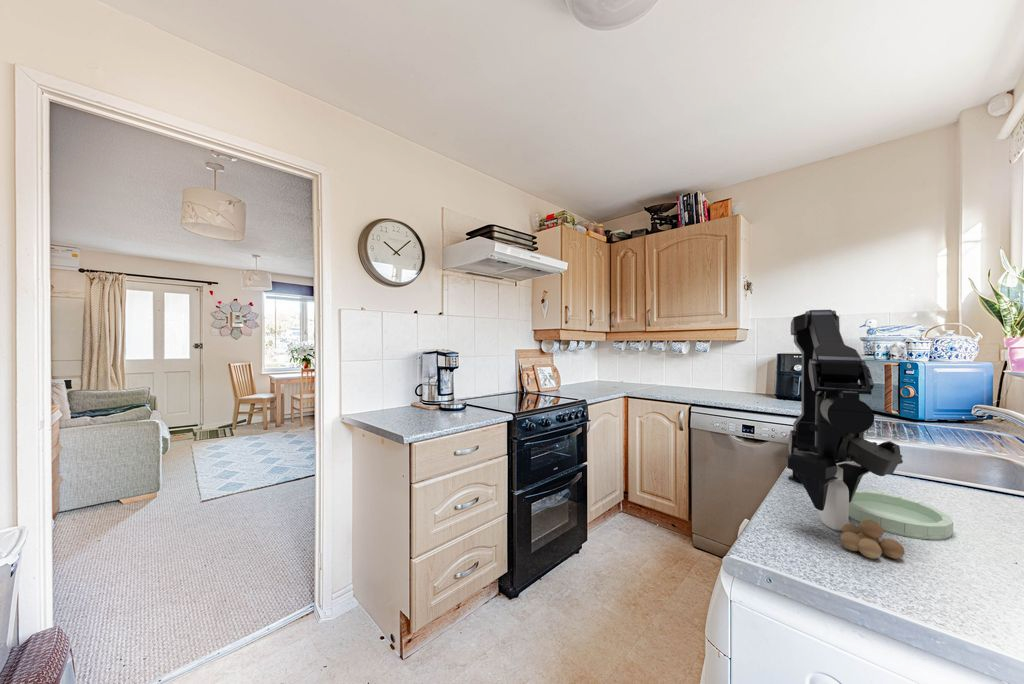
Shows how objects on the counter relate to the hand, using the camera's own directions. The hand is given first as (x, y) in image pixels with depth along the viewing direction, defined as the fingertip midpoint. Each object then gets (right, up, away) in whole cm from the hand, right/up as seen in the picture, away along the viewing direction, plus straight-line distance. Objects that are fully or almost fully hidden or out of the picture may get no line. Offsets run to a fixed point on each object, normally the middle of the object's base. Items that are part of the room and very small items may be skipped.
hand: (833, 505), depth 69 cm
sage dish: (+13, -4, +2) cm, 14 cm away
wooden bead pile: (-1, -4, -8) cm, 9 cm away
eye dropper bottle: (0, -4, 0) cm, 4 cm away
